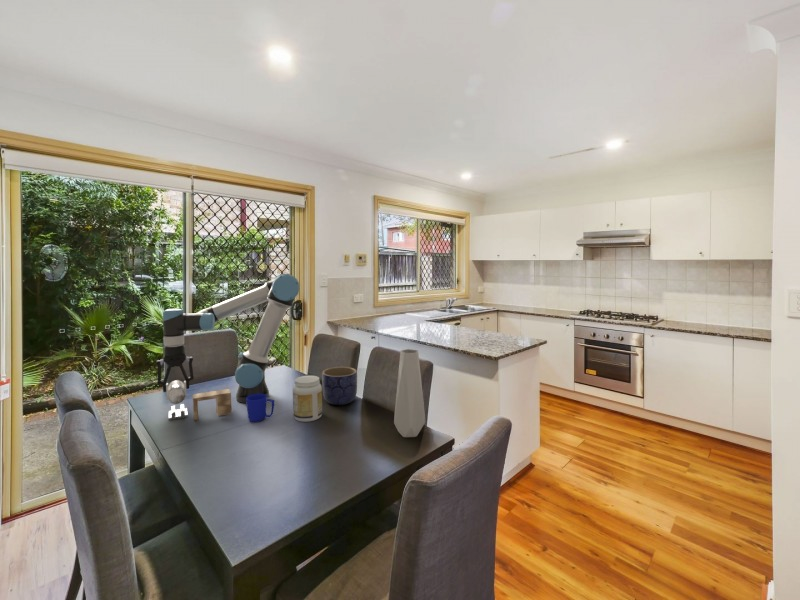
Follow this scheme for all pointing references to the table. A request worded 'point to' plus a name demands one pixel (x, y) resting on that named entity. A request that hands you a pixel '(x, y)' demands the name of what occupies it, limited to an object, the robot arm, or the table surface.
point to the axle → (176, 392)
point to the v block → (178, 412)
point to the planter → (339, 385)
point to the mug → (258, 407)
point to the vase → (409, 395)
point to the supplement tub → (307, 398)
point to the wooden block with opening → (221, 401)
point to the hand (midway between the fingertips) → (176, 397)
